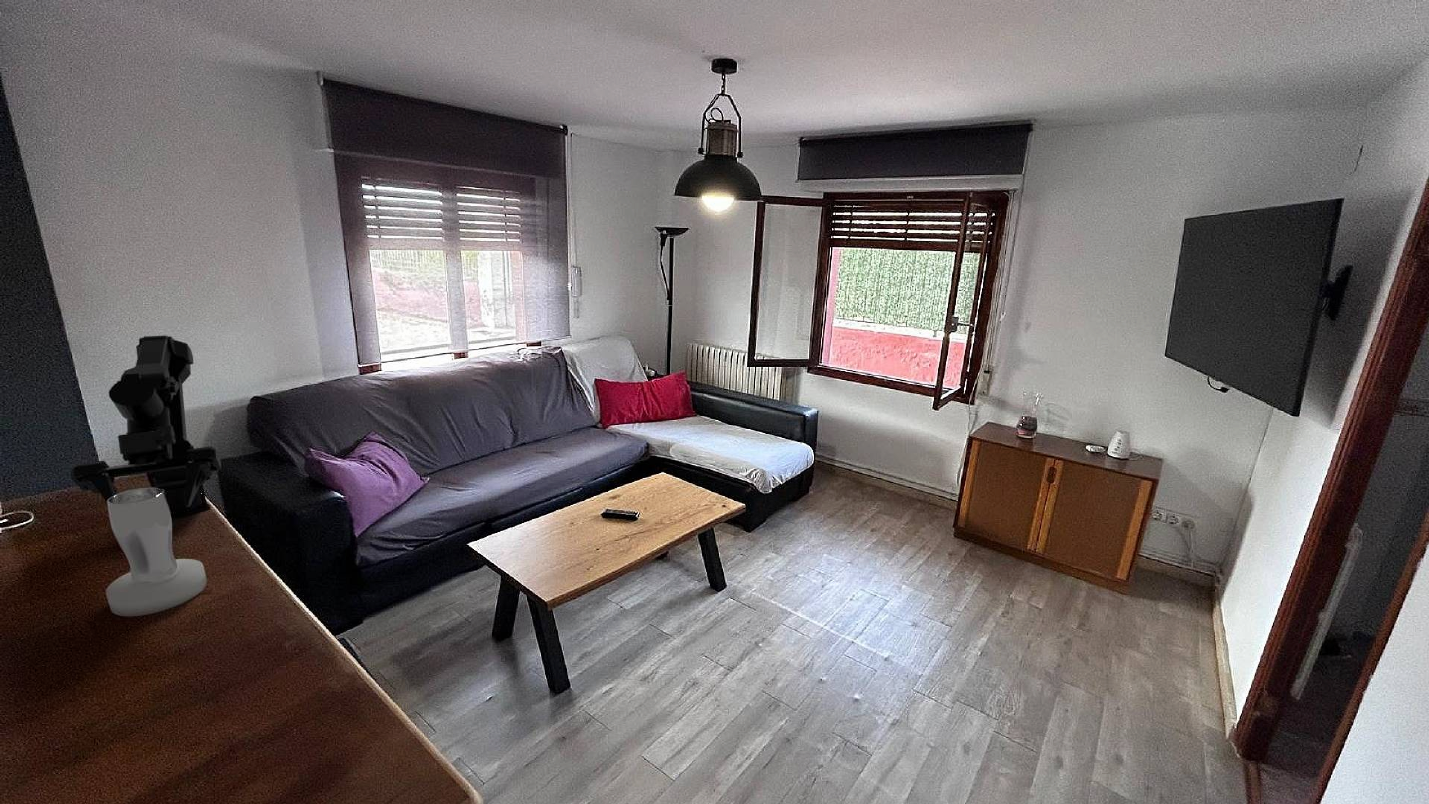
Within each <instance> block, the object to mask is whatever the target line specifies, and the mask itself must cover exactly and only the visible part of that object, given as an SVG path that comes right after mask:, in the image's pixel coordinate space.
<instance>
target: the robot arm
mask: <svg viewBox="0 0 1429 804" xmlns="http://www.w3.org/2000/svg"><path fill="white" fill-rule="evenodd" d="M135 348H136V355H137V357H136V362H135V365H134V367H131V368H129V369H125V371H123V372H122V374H121V376H120V379H119V380H117V381H116V383H114V384H113V385H112V386H111V388H110V389H109V390H108V397H109V398H110V400H111V402H112V403H113V405H114V406H115V408H116V409H117V410H118V411H119V413H120V414H121V416H122V417H123V419H125V420H126V429H127V430H126V431H127V432H126V433H125V434H119V435H118V436H117V439H118V447H119V453H120V455H122V459H123V460H124V461H125V462H127V464H123V465H116V466H115V465H114V466H109V465H108V463H107V462H106V460H96V461H90V462H83V463H76V464H75V465H73V467H72V468H71V469H70V480H72V482H74V484H75V485H77V487H78V488H79V489H80V490H82V491H90V492H91V493H93V494H100V495H101V496H102V498H103V499H104V501H105V504H106V506H107V507H108V504H107V500H108V499H109V498H110V497H112V496H114V495H116V494H118V489H117V487H116V485H115V478H122V477H128V476H130V477H131V476H135V475H136V476H137V475H143V474H146V476H147V479H148V480H147V481H148V482H149V486H150V487H158V488H161V489H162V490H163V493H164V496H165V498H166V501H167V504H168V507H169V510H170V514H171V519H177V518H180V517H184V516H187V515H191V514H195V513H198V512H202V511H205V510H208V509H210V508H212V507H211V505H210V504H209V503H208V502H207V497H206V492H205V487H204V484H205V483H206V481H209V480H211V476H213V475H214V474H213V473H214V472H219V471H221V470H222V461H221V457H220V455H219V453H218V451H217V449H216V448H215V447H214V446H211V445H210V446H203V447H194V445H193V444H192V443H190V442H189V441H190V440H189V441H188V439H187V438H188V437H187V424H186V415H185V414H186V411H185V403H184V402H185V400H184V389H183V388H184V387H183V383H184V382H185V381H186V380H187V379H188V378H189V377H190V376H191V373H192V372H191V371H192V370H191V369H192V368H191V367H192V366H191V365H194V355H193V353H192V352H193V351H192V349H191V347H190V346H189V345H188V343H186V342H183V341H180V340H176V339H174V338H173V337H172V336H171V335H170V336H169V335H166V334H165V335H147V336H143V337H139V339H138V344H137V345H136V346H135ZM201 493H202V494H201ZM205 498H206V499H205Z"/></svg>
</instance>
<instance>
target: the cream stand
mask: <svg viewBox="0 0 1429 804" xmlns="http://www.w3.org/2000/svg"><path fill="white" fill-rule="evenodd" d="M175 560H176V562H177V563H178V565H179V567H180V572H179V574H178V575H177V576H176V577H174V578H172V579H171V580H169V581H166V582H164V583H161V584H158V585H154V586H148V587H136V586H133V585H132V584H131V571H129V572H127V573H125V574H123V575H121V576H120V577H118V578H116V579H115V580H114V581H112V582H111V583H110V584H109V585H108V587H107V588H106V590H105V595H106V597H107V602H108V605H109V608H110V611H111V613H113V614H114V615H116V616H121V617H138V616H146V615H152V614H155V613H159V612H160V613H161V612H163V611H166V610H168V609H171V608H174V607H177V606H179V605H182V604H184V603H185V602H188V601H189V600H192V599H193V598H194V597H196V596H198V595H199V594H200V593H201V592H202V591H203V590H204V589H205V588H206V586H207V583H208V579H207V575H206V570H205V567H204V564H203V563H202V561H200V560H198V559H193V558H192V559H191V558H177V559H176V558H175Z"/></svg>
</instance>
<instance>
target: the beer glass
mask: <svg viewBox="0 0 1429 804" xmlns="http://www.w3.org/2000/svg"><path fill="white" fill-rule="evenodd" d="M107 504H108V506H107V509H108V517H109V521H110V522H109V523H110V525H111V526H110V527H111V530H112V533H113V534H114V537H115V539H116V541H117V544H119V547H120V548H121V550H122V551H123V553H124V555H125V556H126V559H127V561H128V563H129V566H130V568H129V569H130V572H131V584H132V585H133V586H136V587H148V586H154V585H158V584H161V583H164V582H166V581H169V580H171V579H172V578H174V577H176V576H177V575H178V574H179V572H180V567H179V565H178V563H177V562H176V560H175V559H176V558H175V556H174V552H173V522H172V518H171V514H170V510H169V507H168V504H167V501H166V498H165V496H164V493H163V490H162V489H161V488H158V487H151V486H148V487H147V486H146V487H139V488H138V487H137V488H133V489H129V490H125V491H122V492H119V493H118V492H117V494H116V495H114V496H112V497H110V498H109V499H108V500H107ZM107 504H106V505H107Z"/></svg>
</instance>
